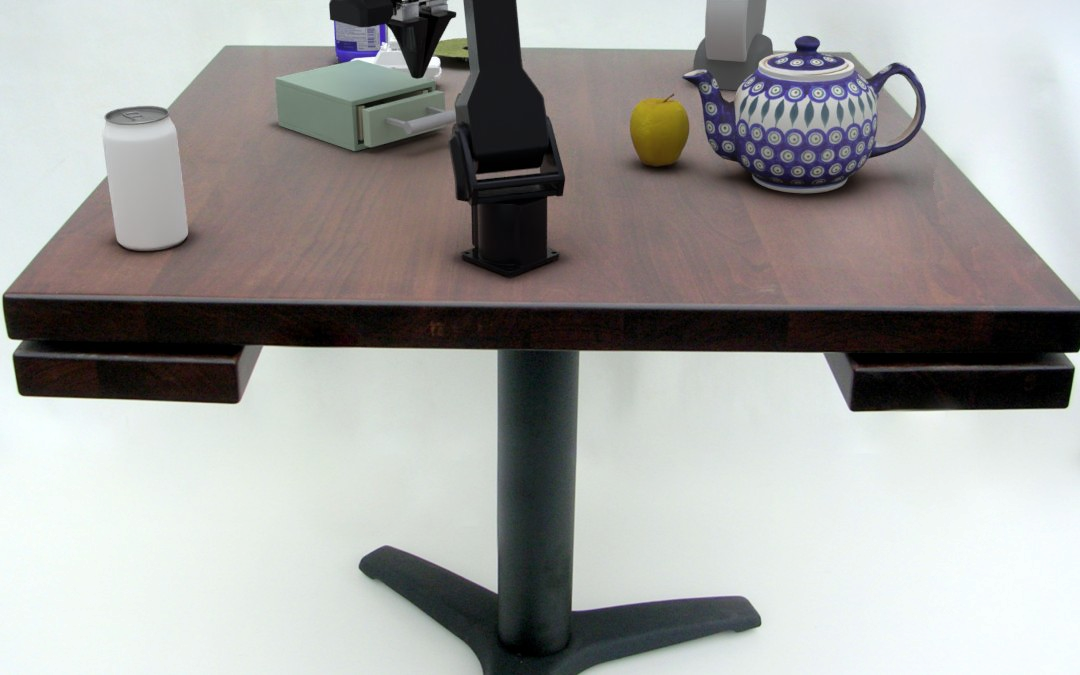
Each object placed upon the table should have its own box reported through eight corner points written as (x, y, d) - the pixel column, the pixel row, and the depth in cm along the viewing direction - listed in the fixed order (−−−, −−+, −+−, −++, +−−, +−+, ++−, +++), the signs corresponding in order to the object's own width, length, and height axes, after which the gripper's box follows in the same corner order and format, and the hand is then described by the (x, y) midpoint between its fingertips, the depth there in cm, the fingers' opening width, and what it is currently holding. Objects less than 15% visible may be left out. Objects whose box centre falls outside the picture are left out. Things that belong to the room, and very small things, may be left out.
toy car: (350, 83, 178) (347, 30, 175) (443, 82, 178) (441, 30, 175) (345, 95, 172) (342, 41, 169) (440, 94, 172) (439, 41, 169)
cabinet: (437, 128, 159) (435, 80, 157) (354, 151, 151) (351, 101, 149) (360, 105, 168) (358, 59, 166) (278, 125, 160) (274, 77, 158)
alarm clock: (707, 60, 188) (714, -77, 181) (781, 65, 186) (792, -73, 178) (681, 89, 175) (687, -58, 167) (760, 96, 172) (771, -53, 164)
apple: (697, 171, 145) (701, 97, 142) (640, 176, 143) (643, 102, 140) (675, 153, 151) (678, 82, 147) (620, 158, 149) (622, 86, 146)
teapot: (904, 157, 149) (920, 21, 143) (932, 204, 136) (952, 56, 129) (674, 153, 150) (680, 18, 144) (680, 199, 137) (687, 52, 131)
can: (132, 258, 123) (114, 128, 118) (106, 237, 128) (88, 111, 122) (200, 242, 126) (185, 116, 121) (172, 222, 131) (157, 100, 126)
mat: (461, 75, 181) (461, 60, 180) (412, 59, 189) (411, 45, 188) (526, 61, 188) (526, 47, 187) (476, 46, 195) (476, 33, 195)
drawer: (473, 135, 154) (473, 99, 152) (398, 157, 147) (396, 119, 145) (372, 104, 165) (370, 71, 164) (298, 123, 158) (295, 88, 157)
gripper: (428, -88, 154) (433, 51, 160) (291, -69, 142) (303, 80, 148) (496, -77, 146) (498, 67, 153) (359, -56, 134) (368, 99, 141)
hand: (417, 77), depth 149 cm, fingers closed
